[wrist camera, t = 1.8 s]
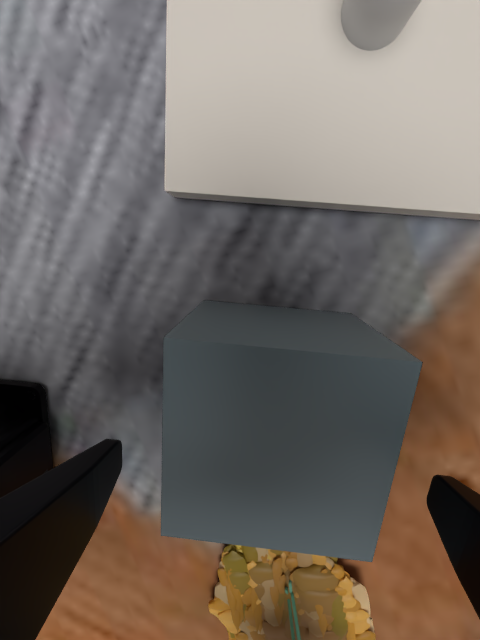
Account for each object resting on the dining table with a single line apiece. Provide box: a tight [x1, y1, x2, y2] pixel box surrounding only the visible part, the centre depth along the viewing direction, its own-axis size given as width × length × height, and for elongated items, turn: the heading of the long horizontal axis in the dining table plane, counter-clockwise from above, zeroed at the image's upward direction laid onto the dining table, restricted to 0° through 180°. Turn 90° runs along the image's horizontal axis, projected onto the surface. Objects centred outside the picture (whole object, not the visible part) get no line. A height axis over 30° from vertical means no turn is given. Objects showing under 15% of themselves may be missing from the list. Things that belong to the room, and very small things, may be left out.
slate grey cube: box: [161, 300, 423, 562], centre depth 11 cm, size 7×7×6 cm
